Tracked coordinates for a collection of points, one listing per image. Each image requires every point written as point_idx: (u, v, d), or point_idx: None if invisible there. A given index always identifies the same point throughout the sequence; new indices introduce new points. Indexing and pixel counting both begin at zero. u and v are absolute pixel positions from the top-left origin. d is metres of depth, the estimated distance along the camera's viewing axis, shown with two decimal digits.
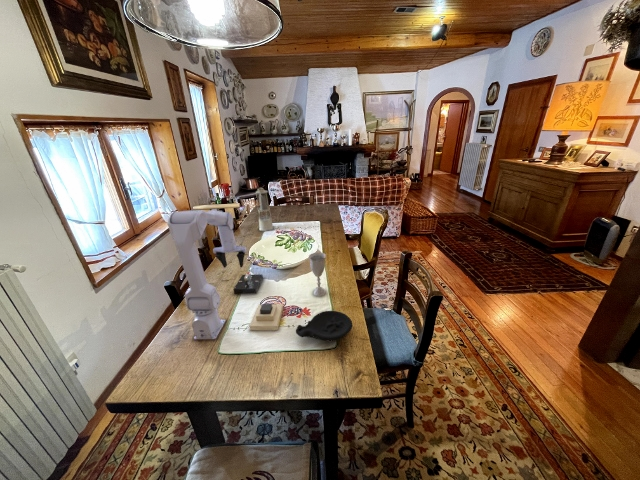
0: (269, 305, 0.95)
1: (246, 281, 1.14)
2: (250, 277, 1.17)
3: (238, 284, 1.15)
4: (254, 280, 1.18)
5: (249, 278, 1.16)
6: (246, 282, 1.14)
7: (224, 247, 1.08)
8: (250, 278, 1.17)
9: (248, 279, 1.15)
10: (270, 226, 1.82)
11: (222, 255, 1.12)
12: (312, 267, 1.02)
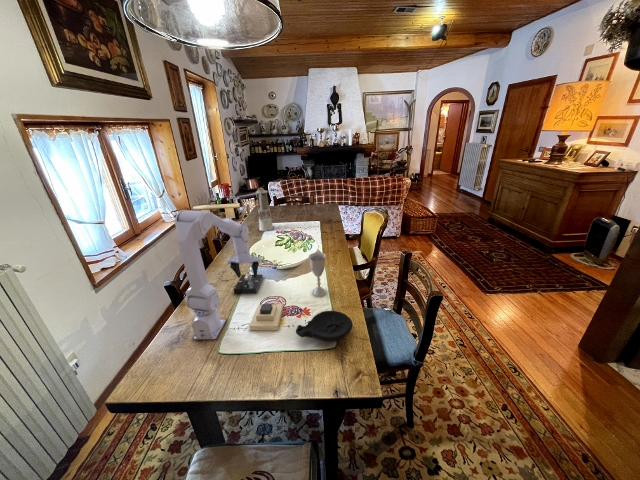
0: (269, 305, 0.95)
1: (246, 281, 1.14)
2: (250, 277, 1.17)
3: (238, 284, 1.15)
4: (254, 280, 1.18)
5: (249, 278, 1.16)
6: (246, 282, 1.14)
7: (239, 258, 1.09)
8: (250, 278, 1.17)
9: (248, 279, 1.15)
10: (270, 226, 1.82)
11: (236, 265, 1.13)
12: (312, 267, 1.02)
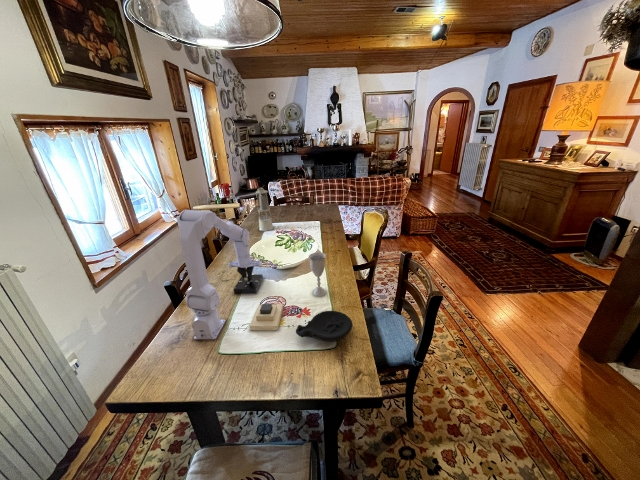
0: (269, 305, 0.95)
1: (246, 281, 1.14)
2: None
3: (238, 284, 1.15)
4: (254, 280, 1.18)
5: None
6: (246, 282, 1.14)
7: (240, 262, 1.10)
8: None
9: None
10: (270, 226, 1.82)
11: (243, 269, 1.13)
12: (312, 267, 1.02)
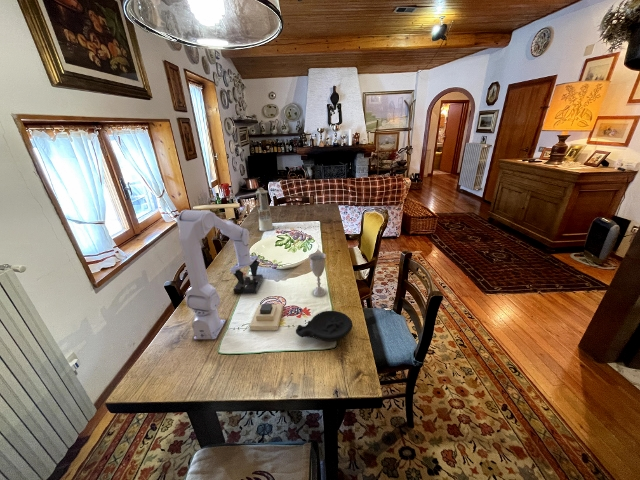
0: (269, 305, 0.95)
1: (251, 279, 1.15)
2: None
3: (238, 284, 1.15)
4: (254, 280, 1.18)
5: None
6: (251, 280, 1.15)
7: (246, 261, 1.10)
8: None
9: None
10: (270, 226, 1.82)
11: None
12: (312, 267, 1.02)
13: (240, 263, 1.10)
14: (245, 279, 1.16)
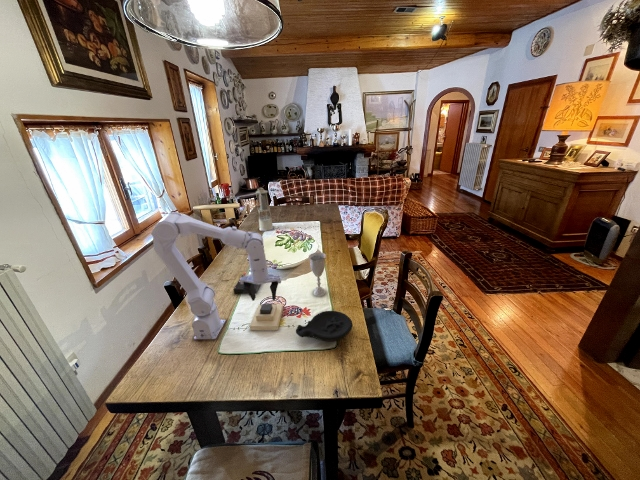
0: (269, 305, 0.95)
1: None
2: None
3: (238, 284, 1.15)
4: None
5: None
6: None
7: (255, 277, 0.87)
8: None
9: None
10: (270, 226, 1.82)
11: (251, 286, 0.91)
12: (312, 267, 1.02)
13: None
14: None
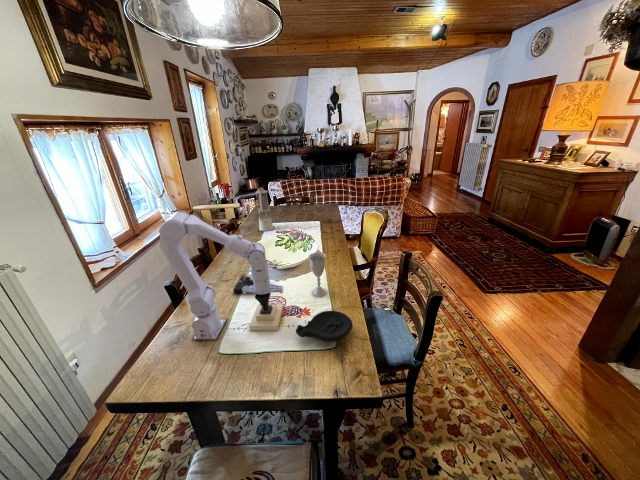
0: (269, 306, 0.95)
1: (251, 279, 1.15)
2: None
3: (238, 284, 1.15)
4: None
5: None
6: (251, 280, 1.15)
7: (257, 288, 0.88)
8: None
9: None
10: (270, 226, 1.82)
11: None
12: (312, 267, 1.02)
13: None
14: (245, 279, 1.16)
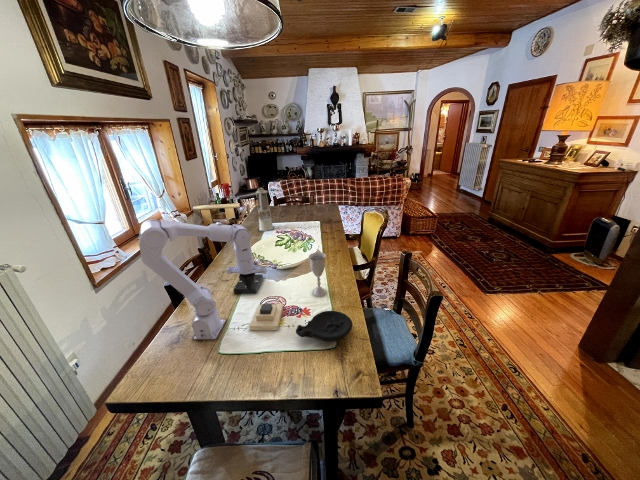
0: (269, 305, 0.95)
1: None
2: None
3: (238, 284, 1.15)
4: (254, 280, 1.18)
5: None
6: None
7: (240, 268, 0.91)
8: None
9: None
10: (270, 226, 1.82)
11: None
12: (312, 267, 1.02)
13: None
14: None
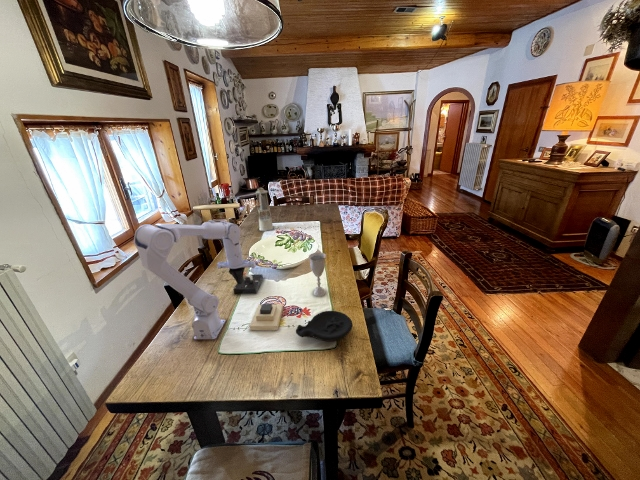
0: (269, 305, 0.95)
1: (251, 279, 1.15)
2: None
3: (238, 284, 1.15)
4: (254, 280, 1.18)
5: None
6: (251, 280, 1.15)
7: (230, 262, 0.95)
8: None
9: None
10: (270, 226, 1.82)
11: None
12: (312, 267, 1.02)
13: None
14: (245, 279, 1.16)
